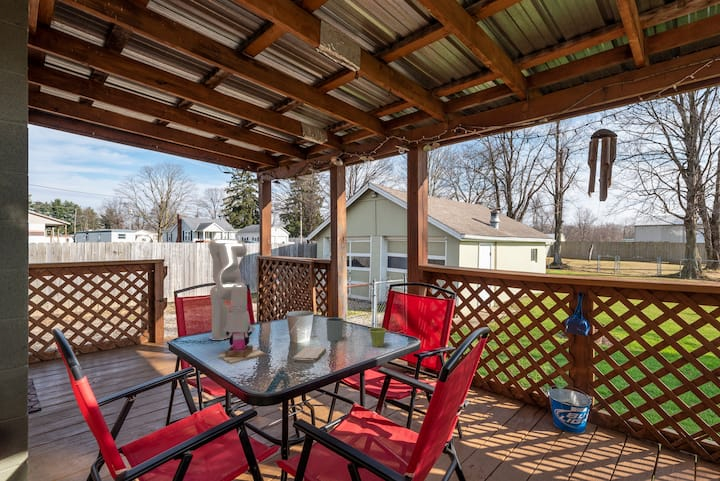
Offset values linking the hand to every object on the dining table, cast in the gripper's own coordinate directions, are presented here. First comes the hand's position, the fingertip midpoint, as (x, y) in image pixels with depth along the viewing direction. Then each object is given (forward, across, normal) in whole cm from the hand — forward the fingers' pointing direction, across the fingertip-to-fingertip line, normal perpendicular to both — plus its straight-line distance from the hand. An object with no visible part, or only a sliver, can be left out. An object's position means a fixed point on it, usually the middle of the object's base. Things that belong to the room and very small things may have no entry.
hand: (239, 344), depth 170 cm
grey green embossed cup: (+6, +45, +30) cm, 55 cm away
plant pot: (+6, +70, +18) cm, 73 cm away
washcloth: (+7, +36, -1) cm, 36 cm away
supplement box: (+5, 0, 0) cm, 5 cm away
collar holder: (+6, 0, 0) cm, 6 cm away
